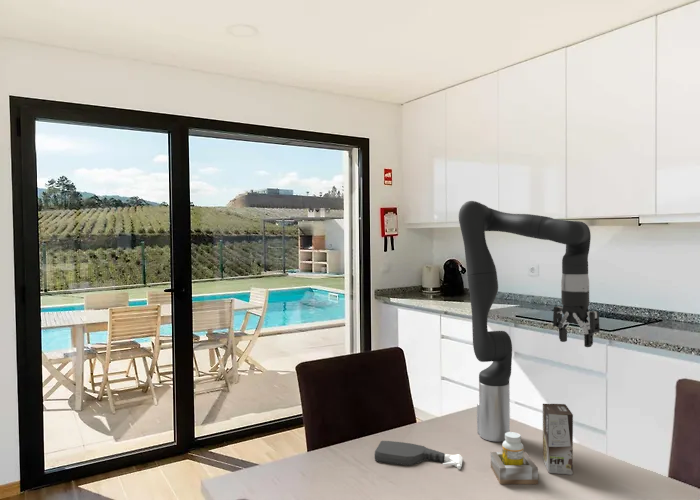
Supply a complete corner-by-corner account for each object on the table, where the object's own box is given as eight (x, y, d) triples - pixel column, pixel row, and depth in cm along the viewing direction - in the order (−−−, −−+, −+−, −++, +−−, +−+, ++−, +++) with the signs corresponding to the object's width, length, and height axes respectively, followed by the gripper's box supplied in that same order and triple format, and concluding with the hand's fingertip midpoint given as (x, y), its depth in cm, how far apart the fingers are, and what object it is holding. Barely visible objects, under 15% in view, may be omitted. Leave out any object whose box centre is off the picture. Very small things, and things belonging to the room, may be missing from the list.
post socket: (500, 484, 131) (499, 468, 131) (490, 467, 141) (490, 452, 141) (537, 484, 131) (537, 467, 131) (526, 467, 141) (526, 451, 140)
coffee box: (573, 475, 135) (573, 414, 135) (548, 473, 137) (547, 413, 136) (566, 460, 144) (566, 403, 144) (542, 458, 146) (542, 402, 145)
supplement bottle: (522, 476, 133) (522, 440, 132) (501, 473, 135) (501, 437, 134) (524, 467, 138) (524, 432, 137) (503, 464, 140) (503, 429, 139)
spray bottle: (381, 448, 156) (464, 458, 148) (372, 463, 145) (460, 475, 138) (381, 438, 155) (464, 448, 148) (372, 453, 145) (460, 464, 138)
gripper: (546, 288, 155) (547, 341, 156) (587, 292, 143) (587, 350, 143) (564, 286, 159) (564, 338, 159) (605, 290, 146) (605, 347, 146)
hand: (575, 344), depth 151 cm, fingers open, 8 cm apart
